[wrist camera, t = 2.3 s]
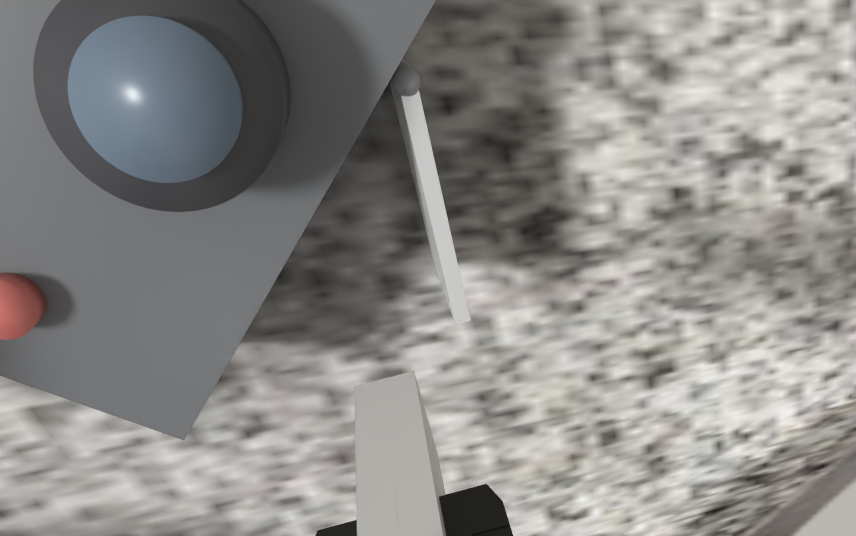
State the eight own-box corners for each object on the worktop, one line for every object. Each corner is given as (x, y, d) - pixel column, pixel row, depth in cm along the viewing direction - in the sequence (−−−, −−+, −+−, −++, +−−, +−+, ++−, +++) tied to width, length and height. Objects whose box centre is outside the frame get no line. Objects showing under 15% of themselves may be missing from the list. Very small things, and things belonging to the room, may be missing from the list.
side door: (449, 262, 28) (474, 319, 23) (431, 266, 28) (451, 325, 23) (401, 51, 23) (417, 64, 18) (379, 56, 23) (390, 71, 18)
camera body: (223, 344, 28) (168, 503, 19) (-3, 251, 25) (-194, 389, 16) (415, 2, 23) (462, 2, 14) (164, -172, 20) (20, -315, 11)
